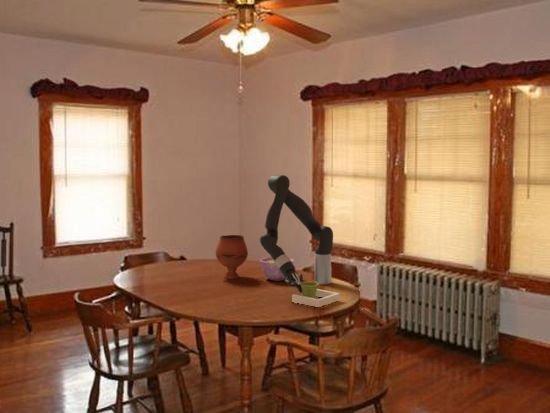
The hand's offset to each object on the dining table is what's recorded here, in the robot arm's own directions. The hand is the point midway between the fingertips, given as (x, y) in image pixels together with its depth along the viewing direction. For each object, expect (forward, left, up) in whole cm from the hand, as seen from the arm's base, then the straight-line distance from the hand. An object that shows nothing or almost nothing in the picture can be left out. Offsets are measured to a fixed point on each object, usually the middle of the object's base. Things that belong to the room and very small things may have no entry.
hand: (302, 291), depth 290 cm
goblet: (-12, -64, -4) cm, 65 cm away
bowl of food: (-26, -40, -4) cm, 48 cm away
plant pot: (0, +4, -4) cm, 6 cm away
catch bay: (0, +7, -4) cm, 8 cm away
